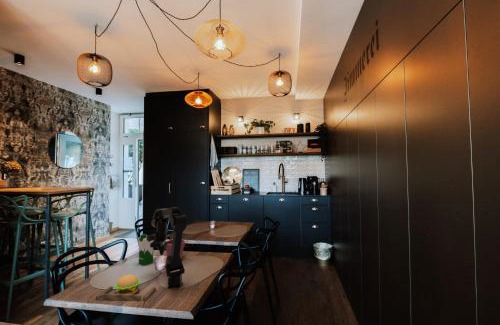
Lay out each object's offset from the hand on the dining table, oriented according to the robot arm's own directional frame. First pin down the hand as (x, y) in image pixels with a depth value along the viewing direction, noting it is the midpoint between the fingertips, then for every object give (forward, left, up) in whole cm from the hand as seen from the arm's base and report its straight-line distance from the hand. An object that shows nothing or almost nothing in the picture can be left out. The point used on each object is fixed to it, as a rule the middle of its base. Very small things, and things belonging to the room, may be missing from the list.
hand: (161, 255), depth 155 cm
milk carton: (+20, -20, -12) cm, 31 cm away
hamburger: (+8, +23, -12) cm, 27 cm away
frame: (+7, +25, -12) cm, 29 cm away
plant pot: (+3, -29, -12) cm, 32 cm away
